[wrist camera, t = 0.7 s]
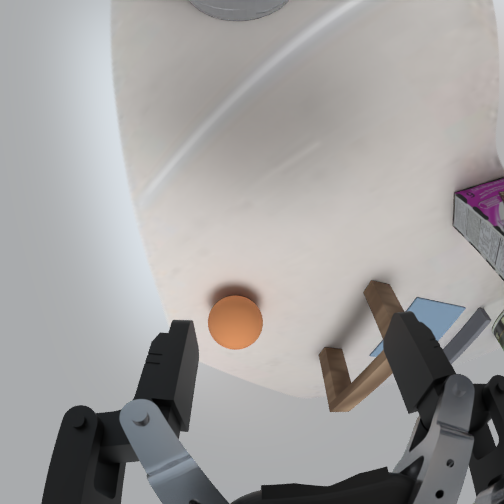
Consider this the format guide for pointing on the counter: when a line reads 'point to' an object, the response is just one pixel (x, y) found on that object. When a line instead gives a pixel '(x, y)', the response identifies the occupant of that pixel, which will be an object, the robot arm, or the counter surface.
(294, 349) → the counter surface
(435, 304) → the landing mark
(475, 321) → the stopper
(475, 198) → the candy bar box
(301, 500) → the robot arm
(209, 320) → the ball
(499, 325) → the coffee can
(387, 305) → the bridge
